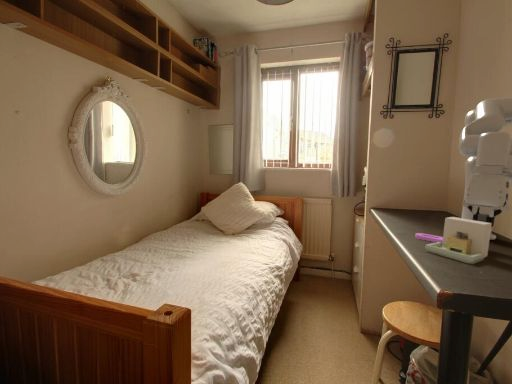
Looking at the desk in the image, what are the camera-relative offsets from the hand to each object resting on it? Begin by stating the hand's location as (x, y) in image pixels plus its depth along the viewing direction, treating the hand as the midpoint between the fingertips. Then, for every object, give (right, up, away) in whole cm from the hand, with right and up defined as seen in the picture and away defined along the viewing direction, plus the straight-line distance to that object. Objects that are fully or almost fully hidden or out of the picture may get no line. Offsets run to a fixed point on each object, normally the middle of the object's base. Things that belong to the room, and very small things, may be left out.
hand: (482, 227), depth 88 cm
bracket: (-10, -6, +7) cm, 14 cm away
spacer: (-14, -6, -8) cm, 17 cm away
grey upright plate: (-5, -3, -2) cm, 6 cm away
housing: (-10, -7, -5) cm, 14 cm away
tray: (-16, -7, -9) cm, 20 cm away
